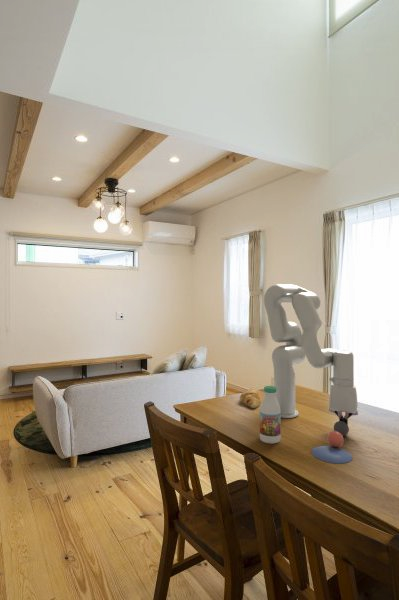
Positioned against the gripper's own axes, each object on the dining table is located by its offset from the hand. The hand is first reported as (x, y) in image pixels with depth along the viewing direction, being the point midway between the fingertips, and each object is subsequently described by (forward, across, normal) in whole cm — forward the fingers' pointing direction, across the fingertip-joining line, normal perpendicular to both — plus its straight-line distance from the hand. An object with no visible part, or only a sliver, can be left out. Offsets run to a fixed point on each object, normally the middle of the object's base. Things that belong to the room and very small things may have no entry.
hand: (343, 427), depth 139 cm
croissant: (+2, -46, +18) cm, 50 cm away
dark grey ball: (-1, 0, -4) cm, 5 cm away
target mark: (+2, -1, -24) cm, 24 cm away
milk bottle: (+2, -24, -22) cm, 32 cm away
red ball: (-1, -1, -16) cm, 16 cm away
